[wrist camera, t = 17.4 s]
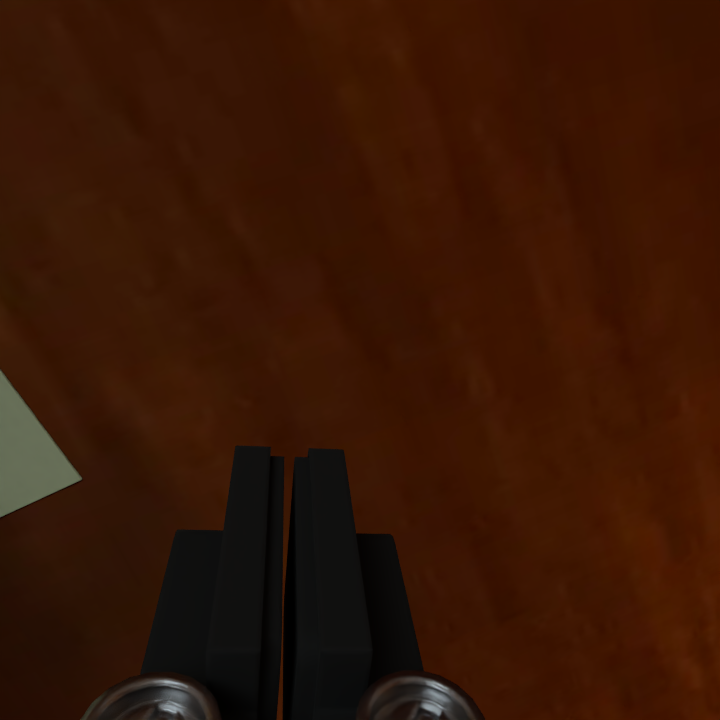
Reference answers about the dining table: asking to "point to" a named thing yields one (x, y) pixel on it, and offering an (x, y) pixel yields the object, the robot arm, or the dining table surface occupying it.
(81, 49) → the dining table surface
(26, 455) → the edge mat
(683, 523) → the dining table surface
